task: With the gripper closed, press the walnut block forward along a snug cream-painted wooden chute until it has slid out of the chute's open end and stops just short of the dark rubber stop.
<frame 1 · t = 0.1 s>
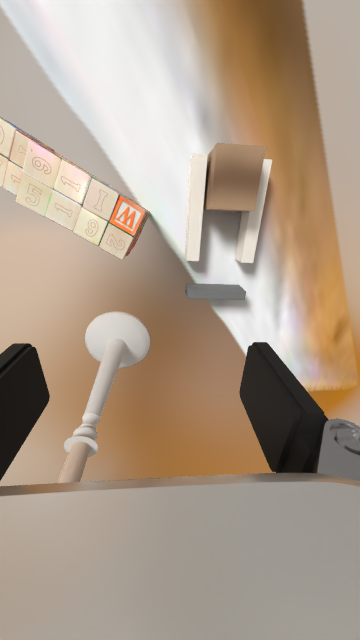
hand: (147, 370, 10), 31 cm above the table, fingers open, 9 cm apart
walnut block: (223, 185, 34), on the table
chute rail 1: (193, 212, 35), on the table
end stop: (212, 288, 41), on the table
stack of blocks: (79, 191, 33), on the table
candlestick: (119, 339, 45), on the table
chute rail 2: (247, 215, 36), on the table
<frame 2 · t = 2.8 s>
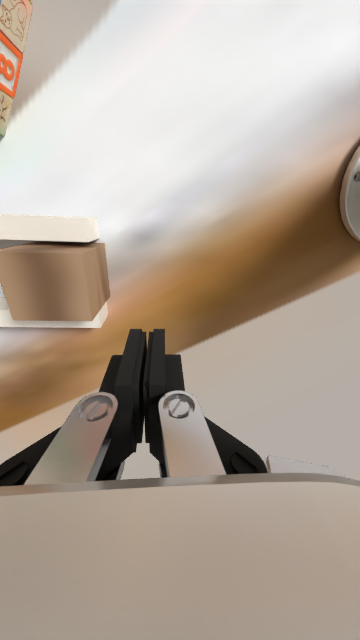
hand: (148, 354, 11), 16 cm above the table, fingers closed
walnut block: (76, 269, 25), on the table
chute rail 1: (28, 225, 23), on the table
chute rail 2: (48, 306, 27), on the table
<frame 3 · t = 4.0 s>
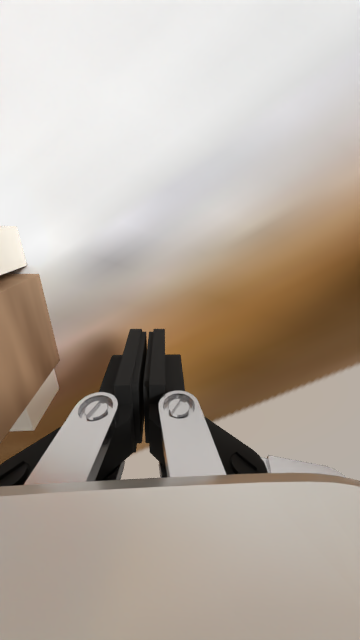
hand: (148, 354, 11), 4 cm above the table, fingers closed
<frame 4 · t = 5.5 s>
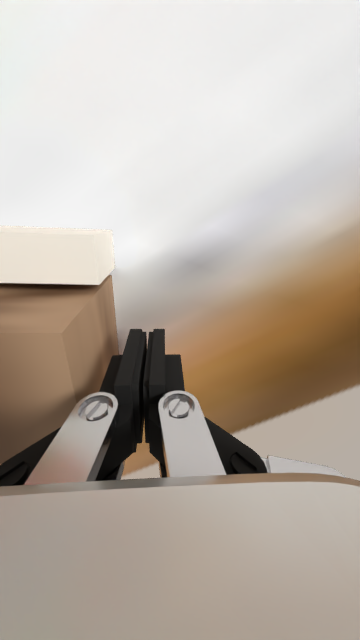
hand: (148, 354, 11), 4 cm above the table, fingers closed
walnut block: (59, 320, 14), on the table, touching gripper
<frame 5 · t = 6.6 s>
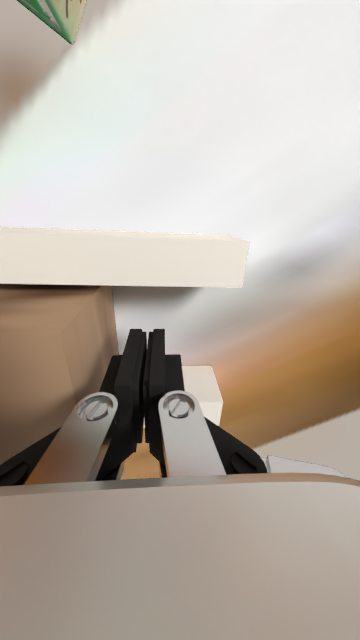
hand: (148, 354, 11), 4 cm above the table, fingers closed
walnut block: (58, 322, 14), on the table, touching gripper
chute rail 1: (101, 249, 12), on the table
chute rail 2: (115, 377, 16), on the table
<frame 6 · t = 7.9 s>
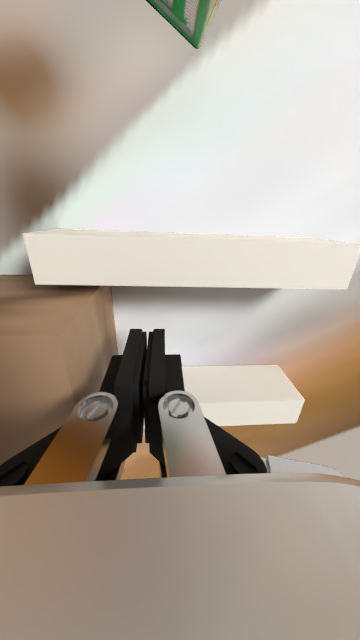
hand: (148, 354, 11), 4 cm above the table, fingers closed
walnut block: (57, 322, 14), on the table, touching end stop, gripper
chute rail 1: (192, 252, 13), on the table
chute rail 2: (184, 377, 16), on the table
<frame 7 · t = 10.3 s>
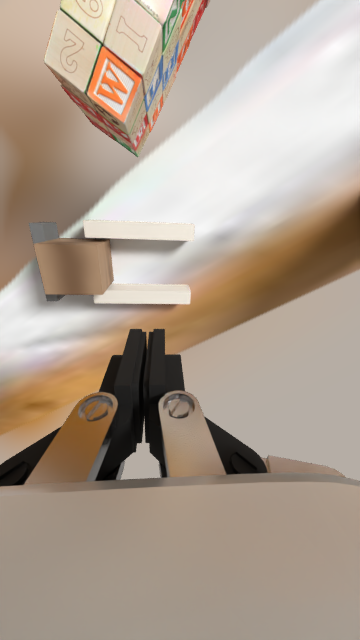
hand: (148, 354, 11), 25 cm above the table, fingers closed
walnut block: (87, 260, 33), on the table
chute rail 1: (142, 229, 31), on the table
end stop: (57, 259, 32), on the table
stack of blocks: (158, 40, 24), on the table
chute rail 2: (144, 289, 35), on the table
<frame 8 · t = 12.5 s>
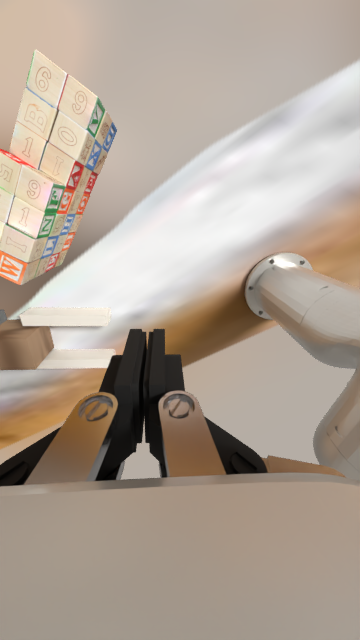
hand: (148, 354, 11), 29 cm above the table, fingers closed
walnut block: (31, 333, 42), on the table
chute rail 1: (72, 312, 40), on the table
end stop: (7, 334, 41), on the table
stack of blocks: (67, 192, 33), on the table
chute rail 2: (79, 353, 44), on the table
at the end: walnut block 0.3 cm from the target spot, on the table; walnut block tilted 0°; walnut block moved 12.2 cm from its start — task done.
